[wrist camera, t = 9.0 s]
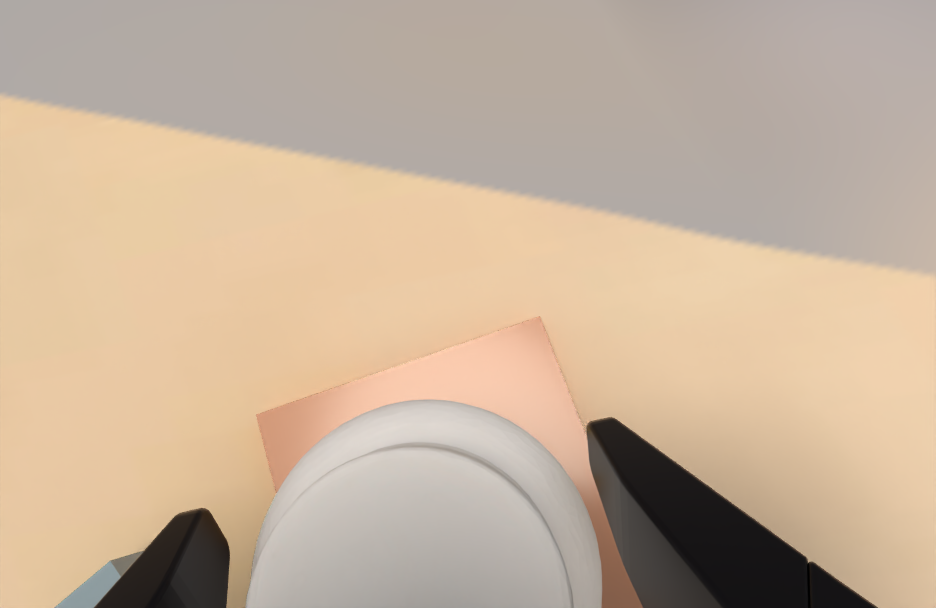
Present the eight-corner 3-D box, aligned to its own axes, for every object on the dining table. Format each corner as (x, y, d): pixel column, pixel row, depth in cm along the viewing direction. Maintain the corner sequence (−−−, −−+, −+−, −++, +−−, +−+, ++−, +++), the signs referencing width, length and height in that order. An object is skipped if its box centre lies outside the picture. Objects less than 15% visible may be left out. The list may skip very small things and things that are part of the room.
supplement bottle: (316, 488, 17) (92, 536, 7) (479, 384, 18) (480, 297, 8) (415, 672, 16) (312, 1035, 6) (586, 554, 17) (748, 705, 7)
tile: (652, 615, 17) (658, 620, 16) (346, 733, 16) (340, 743, 16) (537, 320, 19) (539, 316, 18) (263, 415, 18) (256, 414, 18)
